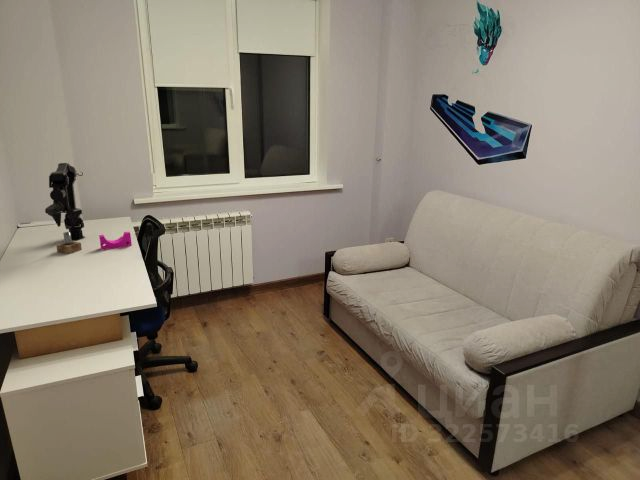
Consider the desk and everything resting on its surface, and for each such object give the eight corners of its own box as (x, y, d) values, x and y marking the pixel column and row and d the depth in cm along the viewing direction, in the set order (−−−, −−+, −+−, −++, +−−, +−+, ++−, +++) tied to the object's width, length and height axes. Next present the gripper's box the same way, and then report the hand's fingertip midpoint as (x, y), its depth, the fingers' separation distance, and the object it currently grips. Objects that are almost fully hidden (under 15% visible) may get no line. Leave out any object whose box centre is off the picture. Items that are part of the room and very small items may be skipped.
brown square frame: (57, 252, 231) (56, 245, 230) (70, 248, 239) (68, 241, 238) (69, 254, 229) (68, 246, 228) (81, 249, 236) (80, 242, 235)
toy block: (129, 243, 249) (128, 230, 247) (131, 246, 244) (130, 232, 242) (100, 247, 242) (98, 234, 239) (101, 250, 237) (100, 236, 234)
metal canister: (64, 251, 233) (61, 233, 230) (69, 249, 236) (66, 231, 233) (69, 252, 232) (66, 233, 229) (74, 250, 235) (71, 232, 232)
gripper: (33, 199, 221) (38, 229, 226) (62, 201, 216) (67, 232, 220) (52, 195, 232) (57, 224, 236) (80, 197, 226) (85, 227, 230)
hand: (66, 227), depth 230 cm, fingers open, 9 cm apart
